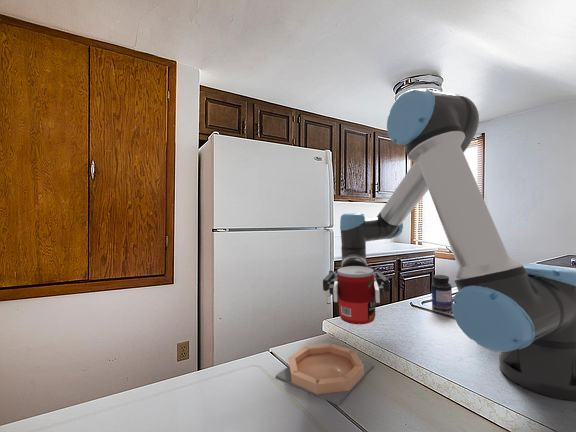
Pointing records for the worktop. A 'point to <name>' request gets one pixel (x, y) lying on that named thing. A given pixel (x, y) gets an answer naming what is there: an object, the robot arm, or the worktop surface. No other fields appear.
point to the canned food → (356, 294)
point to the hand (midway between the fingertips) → (356, 296)
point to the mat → (331, 397)
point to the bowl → (325, 368)
